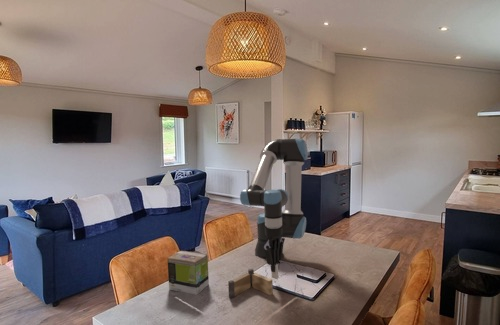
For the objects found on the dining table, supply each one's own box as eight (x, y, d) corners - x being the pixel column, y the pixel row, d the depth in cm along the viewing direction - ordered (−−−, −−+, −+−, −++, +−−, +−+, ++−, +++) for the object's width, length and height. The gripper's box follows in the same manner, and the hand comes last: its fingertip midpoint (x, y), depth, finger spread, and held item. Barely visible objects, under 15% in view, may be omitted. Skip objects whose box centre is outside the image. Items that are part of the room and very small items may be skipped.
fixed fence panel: (227, 298, 126) (227, 282, 126) (247, 287, 135) (246, 272, 134) (231, 300, 125) (231, 283, 124) (251, 289, 133) (250, 273, 133)
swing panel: (247, 285, 135) (247, 270, 135) (251, 283, 137) (250, 268, 136) (269, 295, 126) (269, 279, 126) (273, 293, 128) (272, 277, 127)
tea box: (209, 285, 138) (208, 253, 136) (196, 296, 129) (195, 262, 127) (182, 280, 144) (180, 249, 143) (168, 290, 135) (166, 257, 134)
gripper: (275, 220, 141) (277, 270, 143) (257, 228, 131) (259, 280, 134) (289, 223, 136) (290, 274, 138) (271, 231, 126) (272, 286, 129)
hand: (275, 277), depth 136 cm, fingers closed
